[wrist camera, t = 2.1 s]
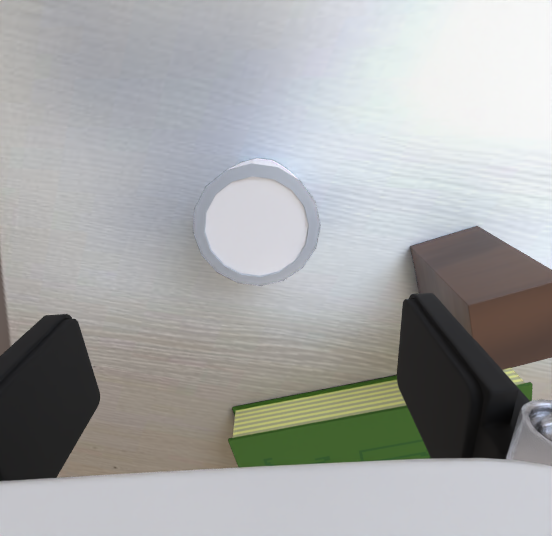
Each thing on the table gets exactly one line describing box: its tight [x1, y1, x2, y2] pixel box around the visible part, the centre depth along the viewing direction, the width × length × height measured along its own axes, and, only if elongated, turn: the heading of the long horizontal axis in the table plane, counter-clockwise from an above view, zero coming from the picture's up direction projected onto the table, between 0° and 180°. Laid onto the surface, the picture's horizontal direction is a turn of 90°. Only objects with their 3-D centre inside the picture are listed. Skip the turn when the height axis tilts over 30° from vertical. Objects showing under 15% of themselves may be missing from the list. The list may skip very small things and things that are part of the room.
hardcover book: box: [228, 368, 532, 467], centre depth 35 cm, size 25×19×4 cm
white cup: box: [193, 158, 320, 286], centre depth 23 cm, size 7×7×7 cm
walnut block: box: [410, 226, 552, 370], centre depth 25 cm, size 5×5×9 cm
